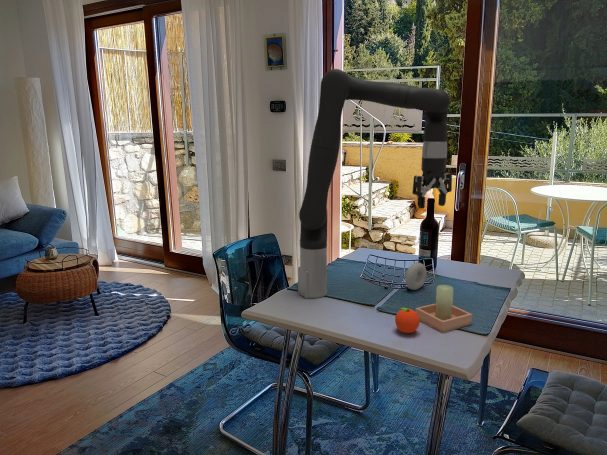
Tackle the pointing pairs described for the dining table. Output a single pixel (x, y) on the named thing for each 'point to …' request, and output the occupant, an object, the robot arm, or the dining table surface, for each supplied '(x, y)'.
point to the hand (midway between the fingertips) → (431, 206)
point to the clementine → (407, 320)
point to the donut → (420, 278)
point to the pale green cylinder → (444, 302)
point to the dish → (457, 320)
